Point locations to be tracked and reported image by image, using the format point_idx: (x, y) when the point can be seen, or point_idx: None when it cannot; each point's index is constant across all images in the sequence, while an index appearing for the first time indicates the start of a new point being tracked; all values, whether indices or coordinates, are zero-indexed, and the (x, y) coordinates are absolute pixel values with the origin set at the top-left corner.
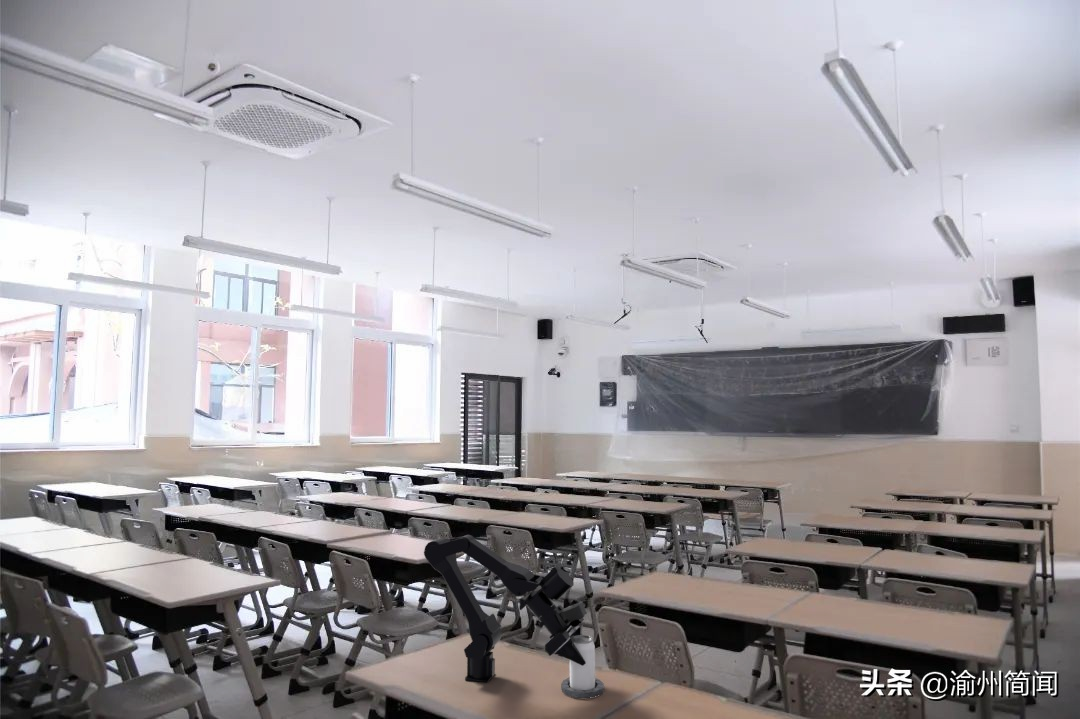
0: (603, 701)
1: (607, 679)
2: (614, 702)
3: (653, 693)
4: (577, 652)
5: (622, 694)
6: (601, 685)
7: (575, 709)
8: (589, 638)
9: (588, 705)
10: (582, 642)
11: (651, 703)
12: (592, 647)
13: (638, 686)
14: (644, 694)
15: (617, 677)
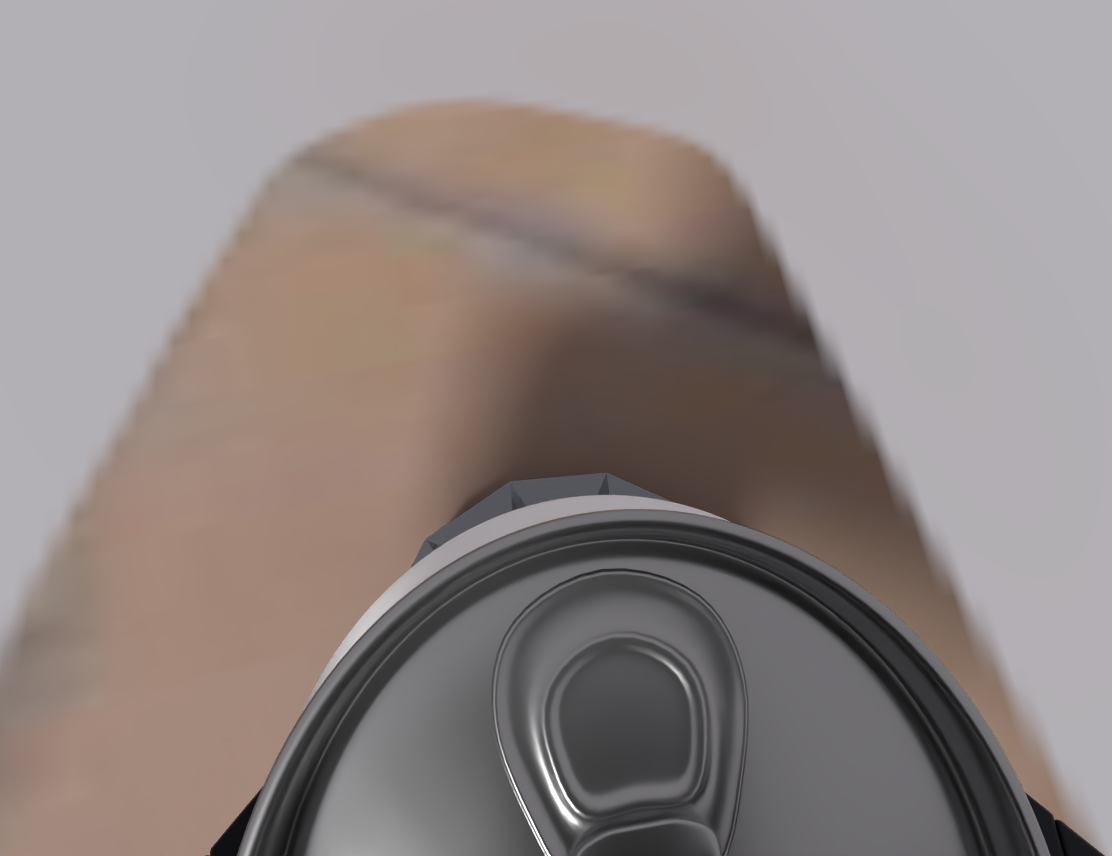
0: (719, 445)
1: (282, 513)
2: (703, 369)
3: (465, 170)
4: (1047, 821)
5: (548, 345)
6: (552, 492)
7: (953, 615)
8: (392, 692)
9: (836, 535)
10: (833, 832)
11: (624, 161)
12: (707, 512)
13: (371, 270)
14: (499, 215)
15: (222, 443)
